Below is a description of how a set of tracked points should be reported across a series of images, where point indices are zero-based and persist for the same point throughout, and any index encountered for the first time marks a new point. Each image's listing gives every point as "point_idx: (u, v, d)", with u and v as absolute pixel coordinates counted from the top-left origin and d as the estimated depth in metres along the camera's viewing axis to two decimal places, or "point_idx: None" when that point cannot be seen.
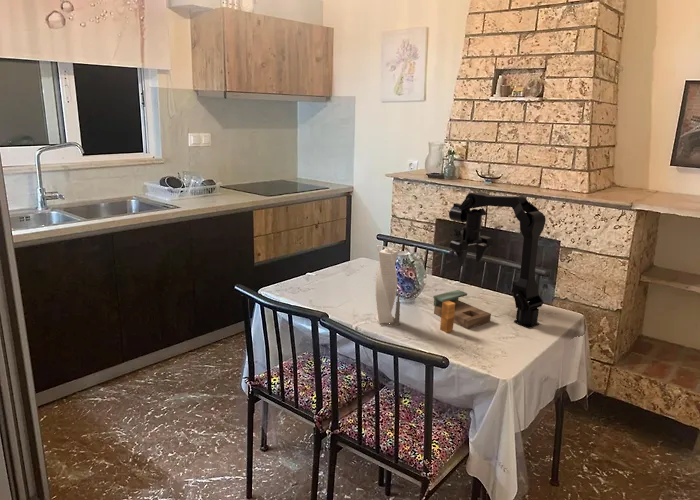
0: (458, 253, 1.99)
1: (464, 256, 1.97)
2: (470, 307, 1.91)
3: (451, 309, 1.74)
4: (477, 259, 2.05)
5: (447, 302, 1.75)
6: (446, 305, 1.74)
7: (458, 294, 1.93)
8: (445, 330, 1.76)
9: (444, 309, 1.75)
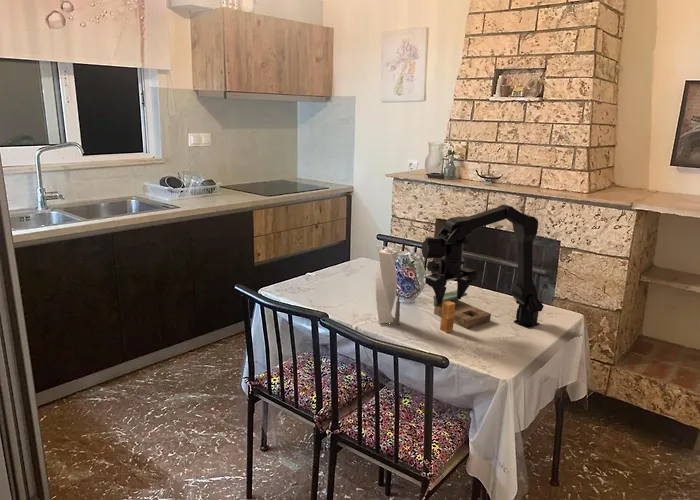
0: (436, 290, 1.71)
1: (442, 293, 1.69)
2: (470, 307, 1.91)
3: (451, 309, 1.74)
4: (458, 295, 1.77)
5: (447, 302, 1.75)
6: (446, 305, 1.74)
7: None
8: (445, 330, 1.76)
9: (444, 309, 1.75)
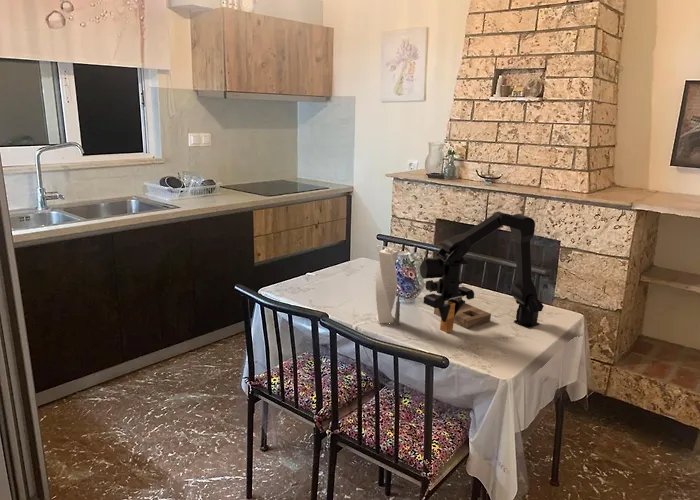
0: (440, 307, 1.74)
1: (447, 311, 1.72)
2: (470, 307, 1.91)
3: (451, 309, 1.74)
4: None
5: None
6: None
7: None
8: (445, 330, 1.76)
9: None
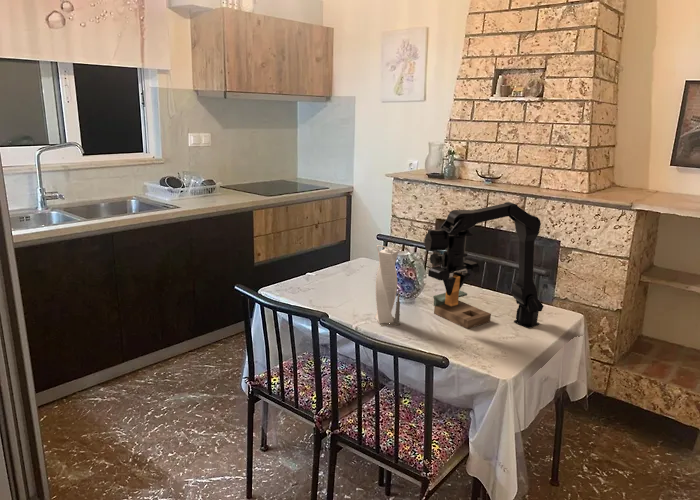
0: (445, 280, 1.72)
1: (452, 284, 1.71)
2: (470, 307, 1.91)
3: (456, 282, 1.72)
4: None
5: None
6: None
7: None
8: (450, 304, 1.74)
9: None
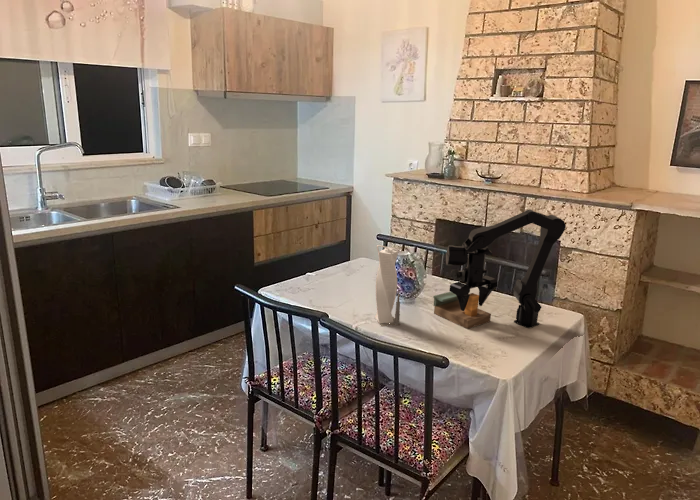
0: (459, 297, 1.80)
1: (466, 301, 1.78)
2: None
3: (475, 301, 1.82)
4: (480, 302, 1.87)
5: (472, 294, 1.84)
6: (470, 297, 1.82)
7: None
8: None
9: (468, 301, 1.83)
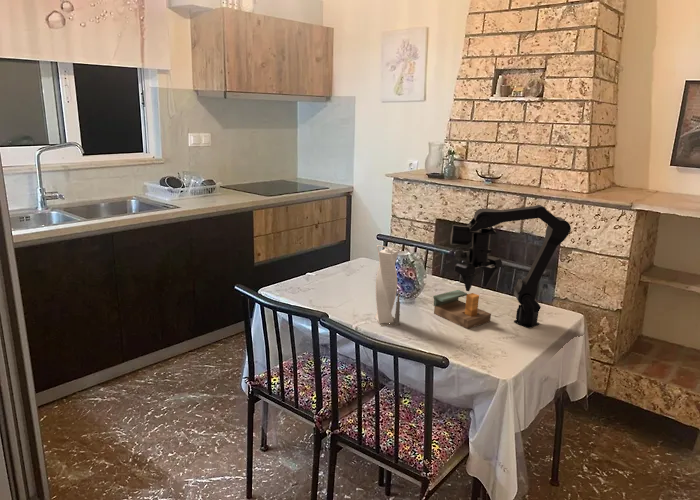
0: (464, 277, 1.80)
1: (471, 280, 1.78)
2: None
3: (475, 301, 1.82)
4: (484, 282, 1.86)
5: (472, 294, 1.84)
6: (470, 297, 1.82)
7: (458, 294, 1.93)
8: None
9: (468, 301, 1.83)
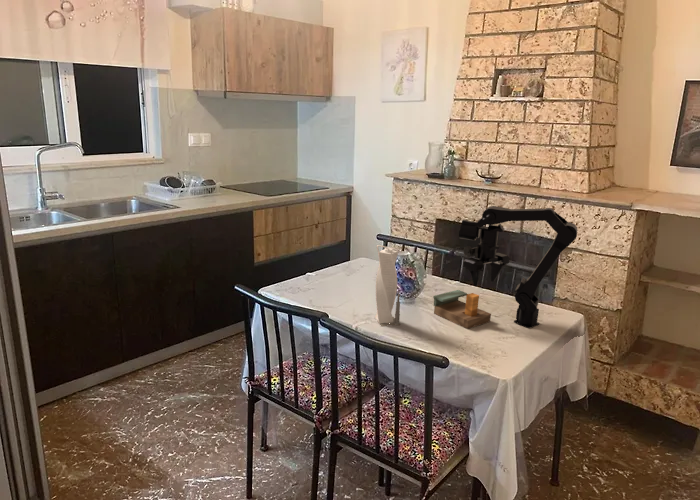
0: (472, 272, 1.85)
1: (479, 276, 1.83)
2: None
3: (475, 301, 1.82)
4: (492, 278, 1.91)
5: (472, 294, 1.84)
6: (470, 297, 1.82)
7: (458, 294, 1.93)
8: None
9: (468, 301, 1.83)
